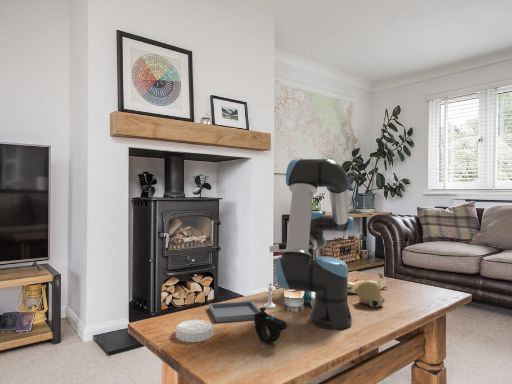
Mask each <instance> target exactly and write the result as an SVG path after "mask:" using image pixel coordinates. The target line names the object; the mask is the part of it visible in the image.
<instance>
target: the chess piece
mask: <svg viewBox="0 0 512 384" xmlns="http://www.w3.org/2000/svg"><path fill="white" fill-rule="evenodd" d="M273 289H274V287H273V283H272V282H271V281H270V282H269V283H268V286H267V290H268V292H267V294H268V299H267V302H266V303H264V305H263V308H266V309H275V308H276V307H277V304H275V303H274V302H273V299H272V295H273V292H272V291H273Z"/></svg>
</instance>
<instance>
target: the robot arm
mask: <svg viewBox="0 0 512 384" xmlns="http://www.w3.org/2000/svg"><path fill="white" fill-rule="evenodd" d="M349 180H350V179H349V176H348V174H347V172H346V171H345V168H343V167H342V165H340V164H339V163H338V162H336V161H334V160H333V159H329V158H296V159H295V158H294V159H292V160H291V161H289V163H288V165H287V168H286V172H285V184H286V186H287V187H288V190H289V191H290V192H291V199H290V200H291V201H290V202H291V203H290V209H289V219H288V220H289V221H288V228H287V237H286V242H273V245H269V253H272V252H278V251H279V250H280V251H281V250H283V251H282V252H281V254H280V255H281V256H279V257H276V260H275V263H274V264H275V266H274V267H275V270H274V271H275V278H276V283H277V285H278V287H279V288H281V289H285V290H289V291H292V290H293V291H302V292H309V293H314V302H313V305H312V307H311V310H310V313H309V323H311V324H312V325H314V326H316V327H319V328H323V329H329V330H343V329H347V328H351V326H352V325H353V324H352V322H353V320H352V319H353V318H352V317H353V316H352V315H351V310H350V306H349V304H348V293H347V282H348V280H349V279H348V277H349V273H348V272H349V271H348V270H349V269H348V265H347V263H346V261H344V260H341V259H338V258H336V257H331V256H316V258H315V259H313V258H312V257H313V254H314V253H313V252H314V251H315V252H316V251H319V250H321V249H323V248H324V247H325V246H326V245H327V240H326V236H324V231H325V232H326V231H327V232H342V233H352V232H353V230H354V218H353V216H349V215H350V214H349V201H348V189H349V186H350V181H349ZM318 187H319V188H326V189H327V191H328V192H329V200H330V207H331V214H332V215H324V214H325V213H324V211H319V210H316V211H315V210H314V211H313V200H314V199H313V198H314V195H315V194H316V193H317V192H318Z"/></svg>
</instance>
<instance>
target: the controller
mask: <svg viewBox="0 0 512 384" xmlns="http://www.w3.org/2000/svg"><path fill="white" fill-rule="evenodd" d="M259 310H261V311H260V312H259V313H256V314H254V316H255V317H254V320H253V321H254V327H255V331H256V334H257V336H258V338H259V339H260V340H261V342H263V343H265V344H272V343H275V342H276V341H278V340H279V339H280V336H281V334H282V333H281V332H282V331H284V330H286V329H287V328H288V324H287V322H286V321H285V320H284V319H280V318H277V317H275V316H272V315H271V314H268V313H267V312H266V310H267V308H265V307H259ZM267 329H268V332H269V335H268V332H267Z"/></svg>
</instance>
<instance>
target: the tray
mask: <svg viewBox="0 0 512 384" xmlns="http://www.w3.org/2000/svg"><path fill="white" fill-rule="evenodd" d="M259 309H260V307H258V305H256V304H255V303H254V301H253V300H245V301H232V302H231V301H229V302H217V303H216V302H215V303H208V310H209V312H210V314H211V316H212V318H213V320H214V321H215V323H216V324H217V323H218V324H219V323H228V322H229V323H230V322H243V321H252V320H253V321H254V317H255V316H254V314H256V313H259V312H260V311H261V310H259Z"/></svg>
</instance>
